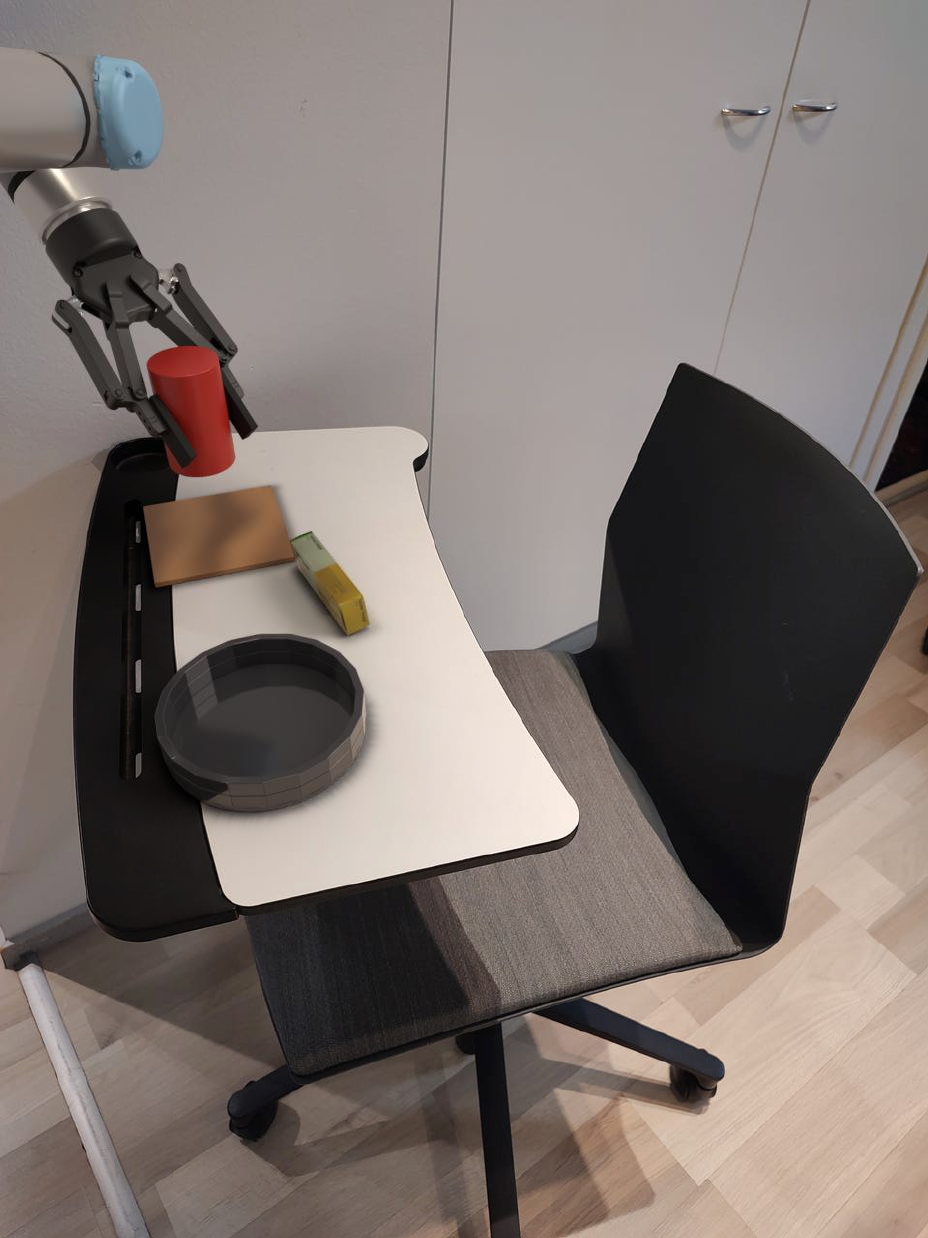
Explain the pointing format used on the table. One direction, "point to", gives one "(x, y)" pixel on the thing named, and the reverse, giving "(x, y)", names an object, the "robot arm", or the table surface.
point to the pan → (261, 722)
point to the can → (195, 406)
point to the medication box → (330, 582)
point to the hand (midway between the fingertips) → (220, 446)
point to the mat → (216, 535)
